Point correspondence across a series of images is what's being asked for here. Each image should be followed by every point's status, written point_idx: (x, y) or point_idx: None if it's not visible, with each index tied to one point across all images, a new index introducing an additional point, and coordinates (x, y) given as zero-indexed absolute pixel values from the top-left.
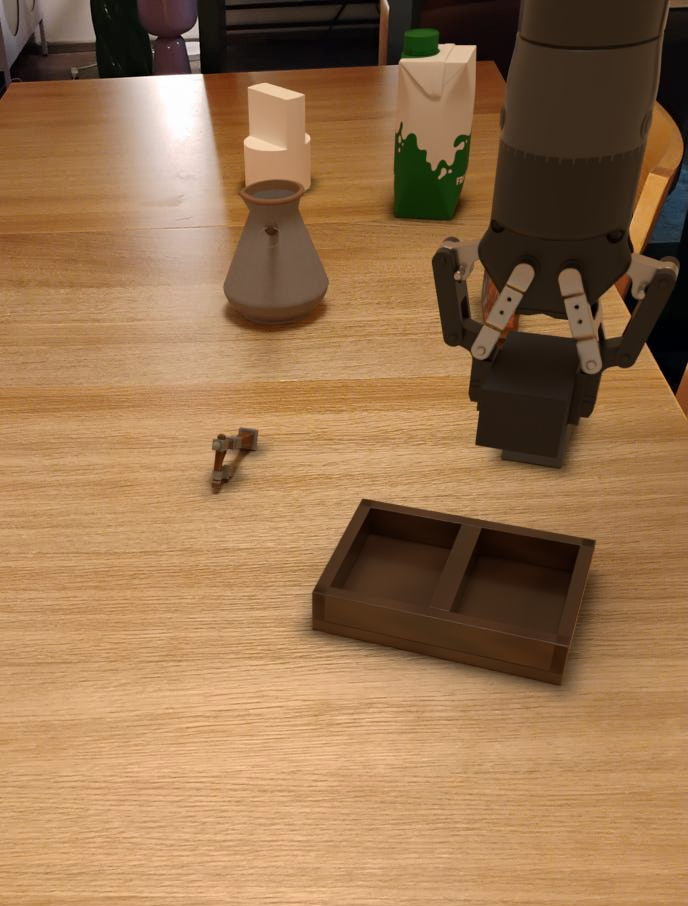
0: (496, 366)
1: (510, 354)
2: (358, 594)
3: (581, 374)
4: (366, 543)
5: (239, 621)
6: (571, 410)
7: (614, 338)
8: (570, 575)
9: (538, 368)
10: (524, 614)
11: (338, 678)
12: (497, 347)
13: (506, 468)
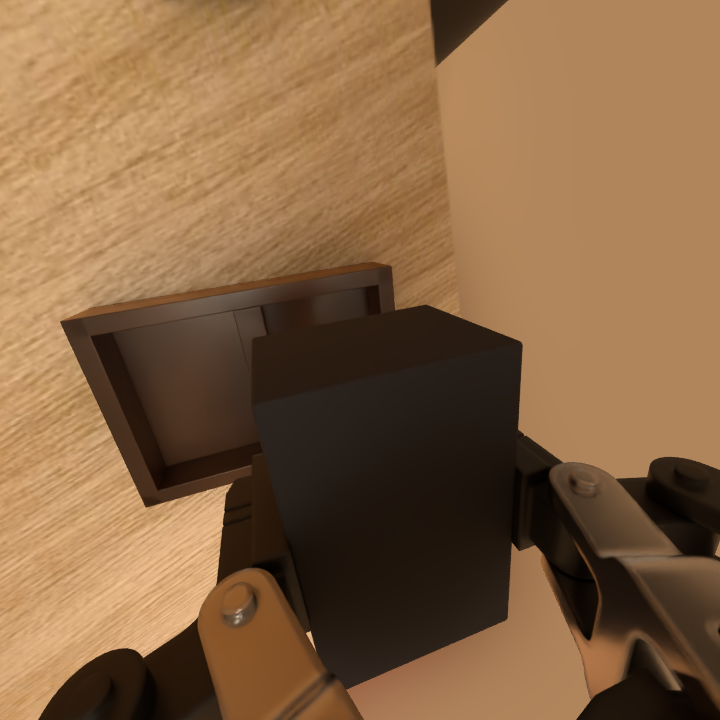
0: (319, 616)
1: (329, 547)
2: (195, 483)
3: (529, 543)
4: (120, 346)
5: (80, 505)
6: None
7: (666, 532)
8: (363, 287)
9: (425, 559)
10: None
11: (224, 503)
12: (282, 564)
13: (185, 28)
